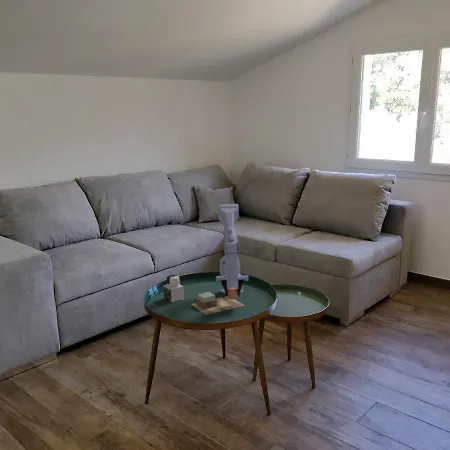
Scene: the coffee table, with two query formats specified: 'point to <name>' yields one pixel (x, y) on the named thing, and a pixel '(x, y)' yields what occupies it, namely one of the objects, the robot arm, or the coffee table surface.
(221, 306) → the board
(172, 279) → the medicine bottle
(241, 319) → the coffee table surface
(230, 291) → the cylinder
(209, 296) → the tower top
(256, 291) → the coffee table surface
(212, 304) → the tower base
